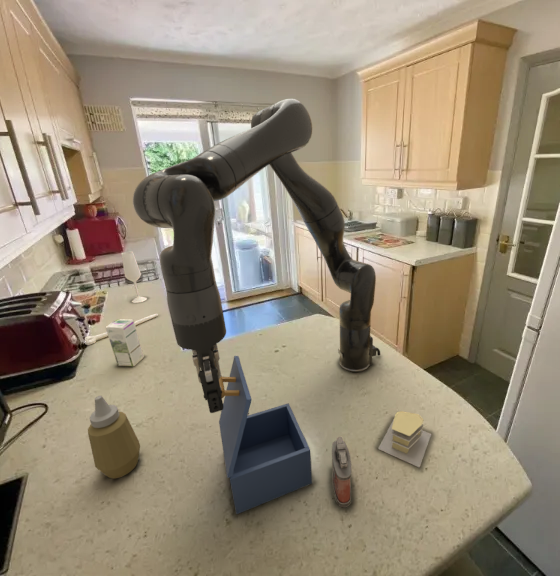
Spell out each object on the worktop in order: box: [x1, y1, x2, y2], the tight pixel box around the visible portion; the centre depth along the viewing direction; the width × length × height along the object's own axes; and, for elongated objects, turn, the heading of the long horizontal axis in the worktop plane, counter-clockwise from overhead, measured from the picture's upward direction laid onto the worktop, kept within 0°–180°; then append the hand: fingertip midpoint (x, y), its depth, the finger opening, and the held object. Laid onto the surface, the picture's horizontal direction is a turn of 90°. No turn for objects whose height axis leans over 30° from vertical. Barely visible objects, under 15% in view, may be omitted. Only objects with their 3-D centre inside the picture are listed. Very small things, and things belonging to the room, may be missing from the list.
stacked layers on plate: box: [377, 410, 432, 469], centre depth 68 cm, size 10×9×6 cm
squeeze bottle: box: [87, 395, 141, 479], centre depth 62 cm, size 8×8×18 cm
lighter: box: [331, 436, 352, 508], centre depth 58 cm, size 8×3×10 cm, turn 5°
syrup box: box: [105, 318, 145, 367], centre depth 100 cm, size 6×6×14 cm
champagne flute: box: [120, 251, 148, 304], centre depth 148 cm, size 7×7×24 cm
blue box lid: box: [218, 355, 253, 479], centre depth 55 cm, size 15×14×5 cm
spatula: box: [84, 313, 159, 346], centre depth 124 cm, size 28×4×3 cm, turn 148°
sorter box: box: [229, 403, 313, 515], centre depth 62 cm, size 15×14×9 cm
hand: (215, 399), depth 54 cm, fingers closed on blue box lid, 5 cm apart
